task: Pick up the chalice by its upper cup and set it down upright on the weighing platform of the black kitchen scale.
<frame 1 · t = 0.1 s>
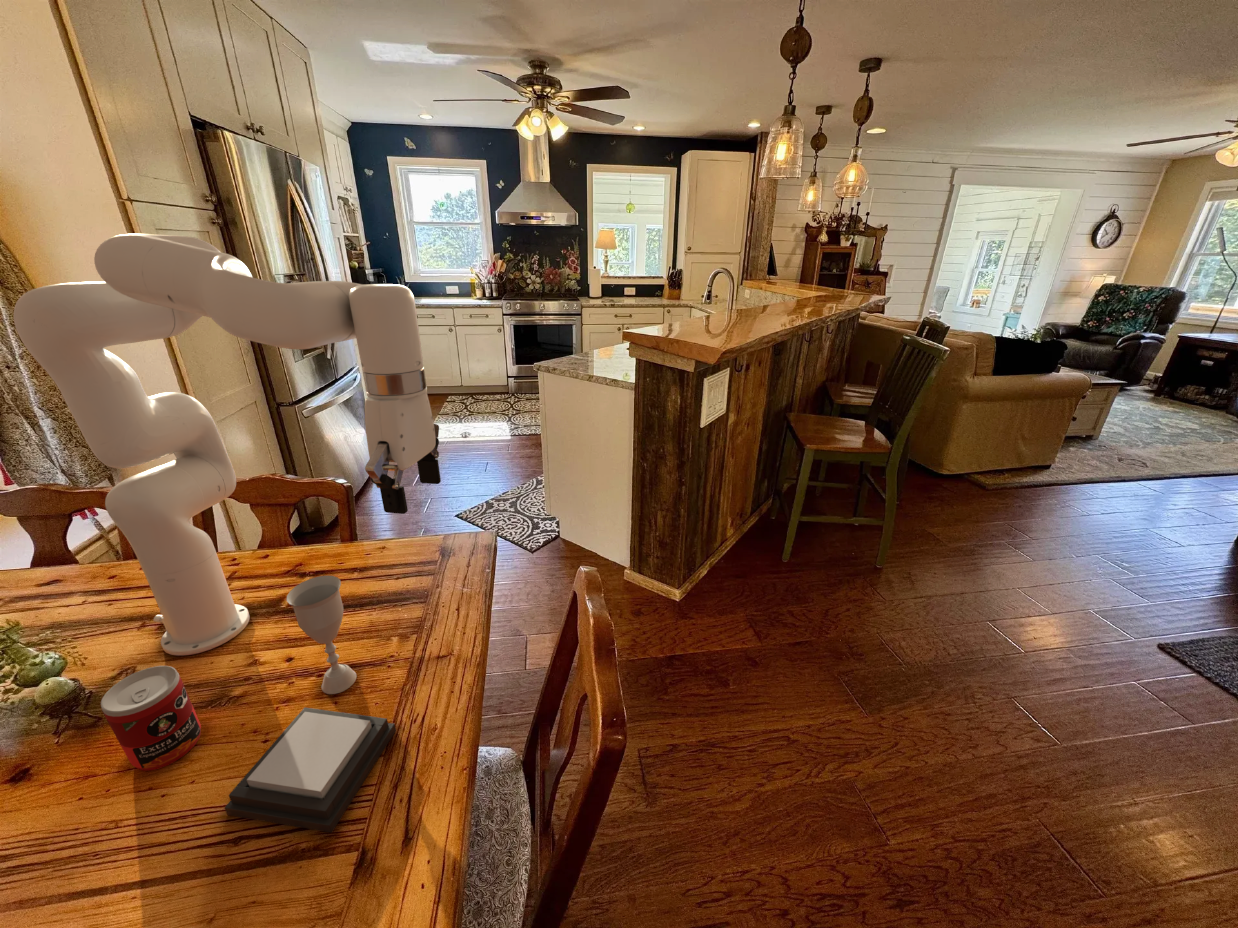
hand: (414, 496, 72), 31 cm above the table, tool pointing down, fingers open, 9 cm apart
canned food: (168, 746, 69), on the table
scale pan: (313, 752, 65), point 3 cm above the table, slide at 0.0 cm
scale: (318, 769, 66), on the table
chalice: (339, 682, 80), on the table
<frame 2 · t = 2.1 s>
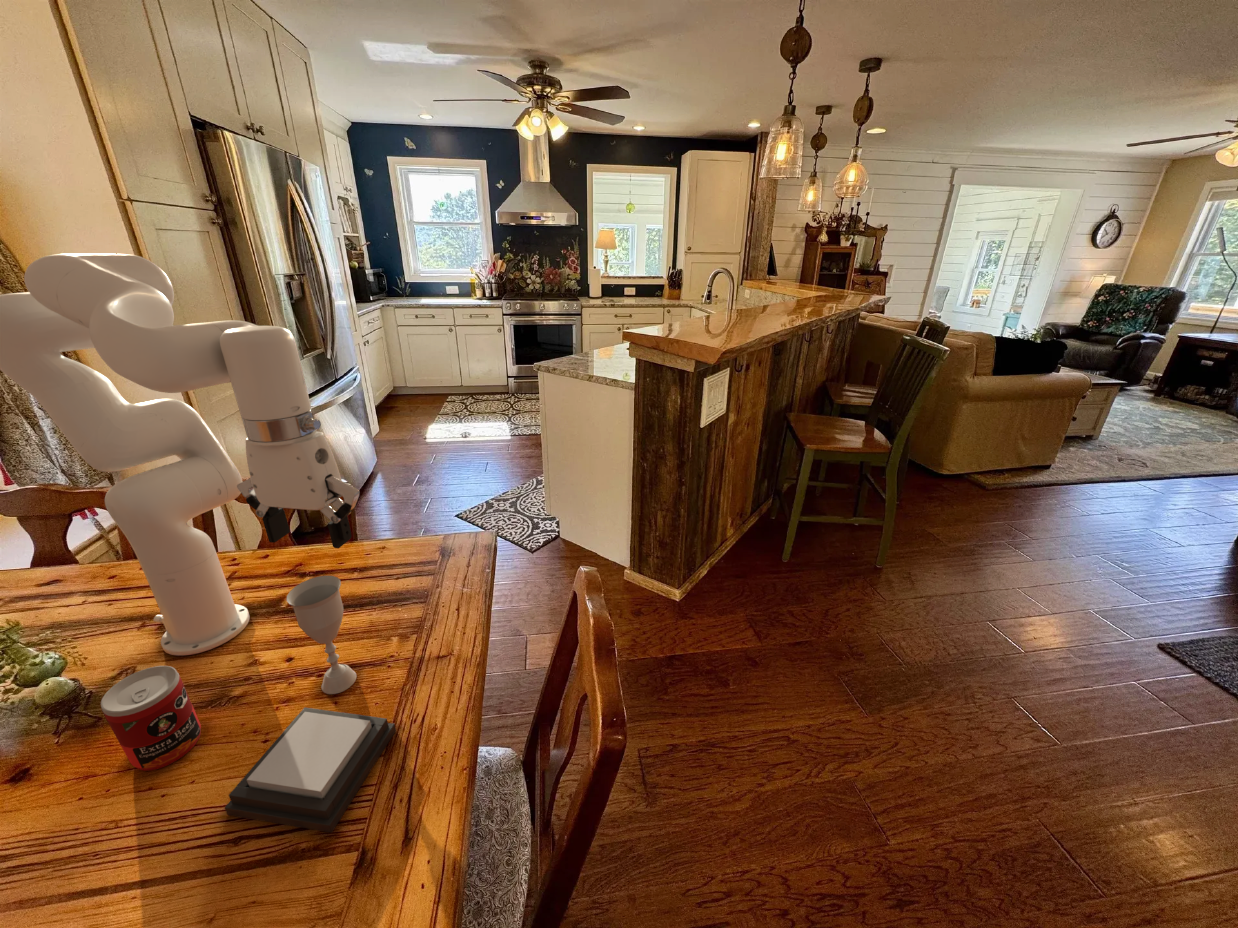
hand: (311, 540, 70), 26 cm above the table, tool pointing down, fingers open, 9 cm apart
nothing on the table moved.
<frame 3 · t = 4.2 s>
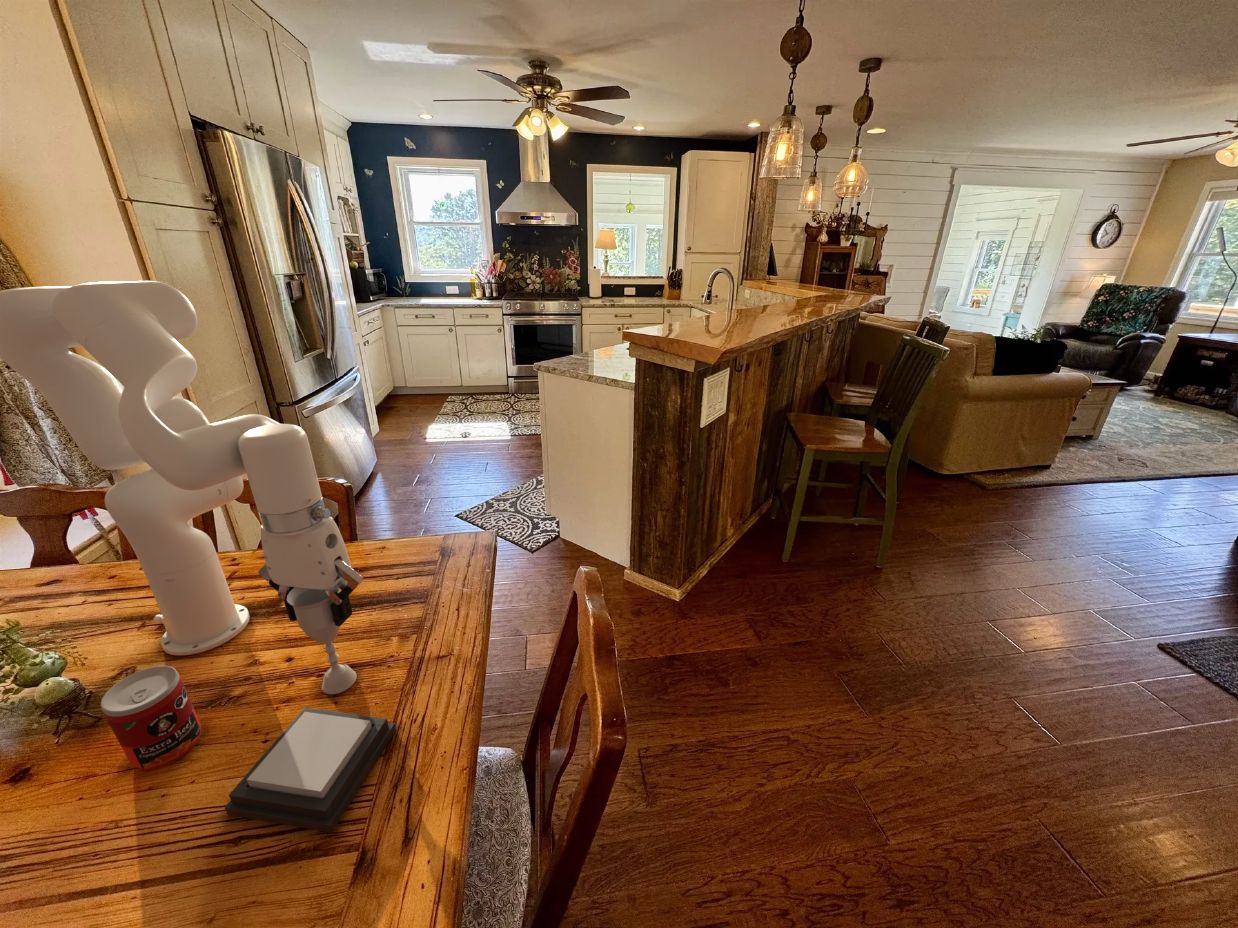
hand: (321, 616, 75), 13 cm above the table, tool pointing down, fingers closed on chalice, 6 cm apart
chalice: (339, 682, 80), on the table, touching gripper
everything else where it was.
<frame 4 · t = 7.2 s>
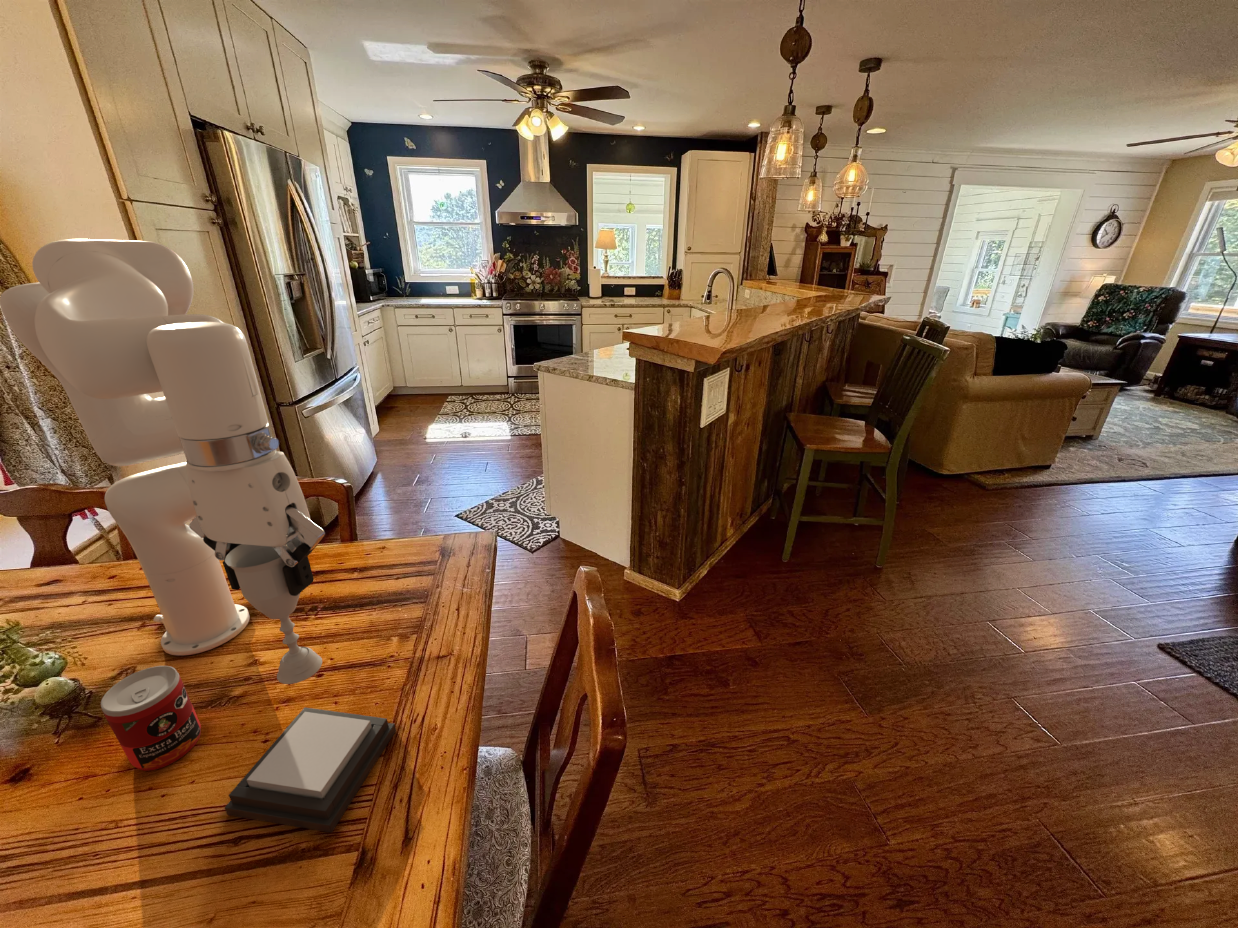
hand: (273, 584, 58), 28 cm above the table, tool pointing down, fingers closed on chalice, 6 cm apart
chalice: (300, 669, 64), point 14 cm above the table, touching gripper
everything else where it was.
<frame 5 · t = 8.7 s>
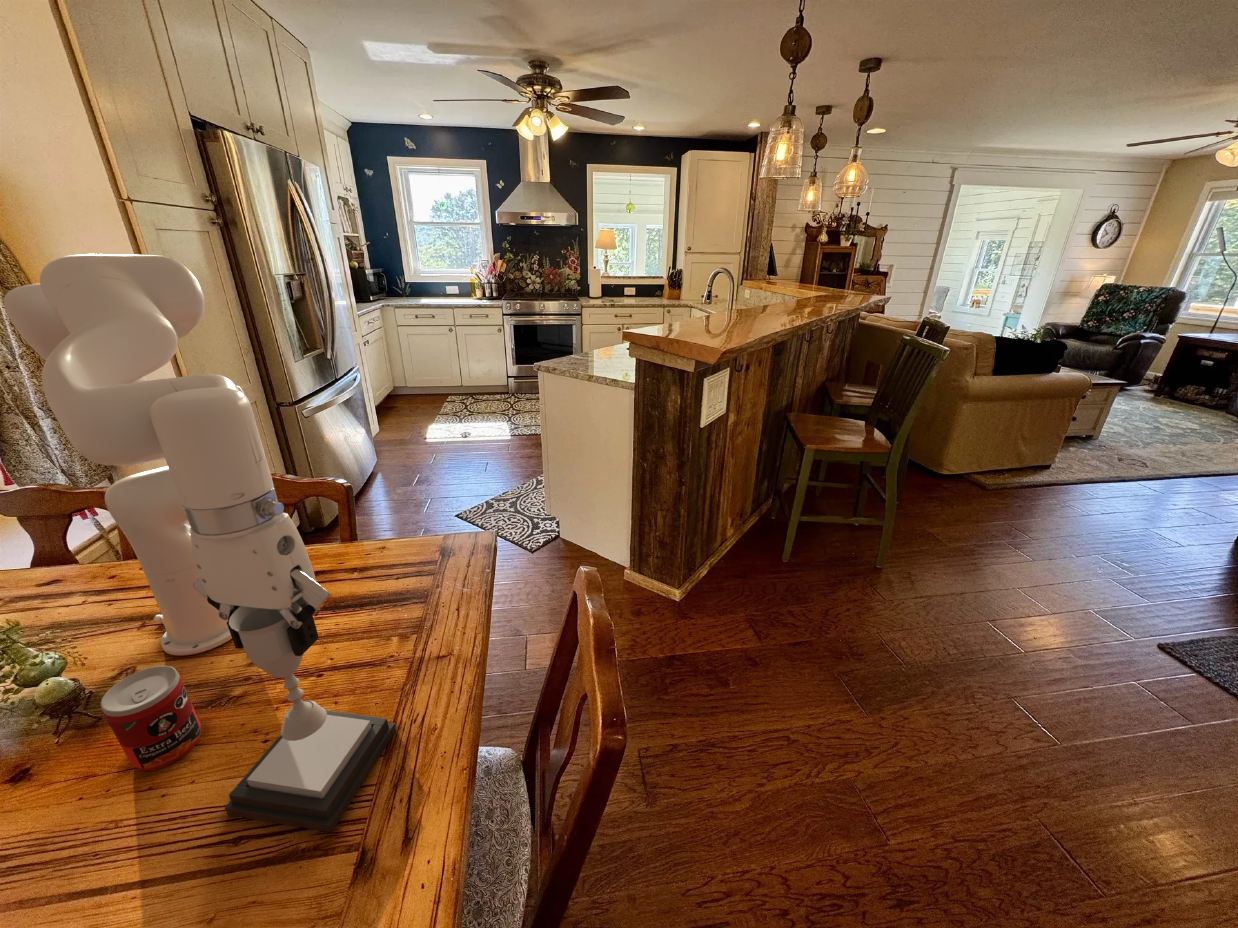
hand: (278, 642, 58), 22 cm above the table, tool pointing down, fingers closed on chalice, 6 cm apart
chalice: (304, 723, 63), point 9 cm above the table, touching gripper
everything else where it was.
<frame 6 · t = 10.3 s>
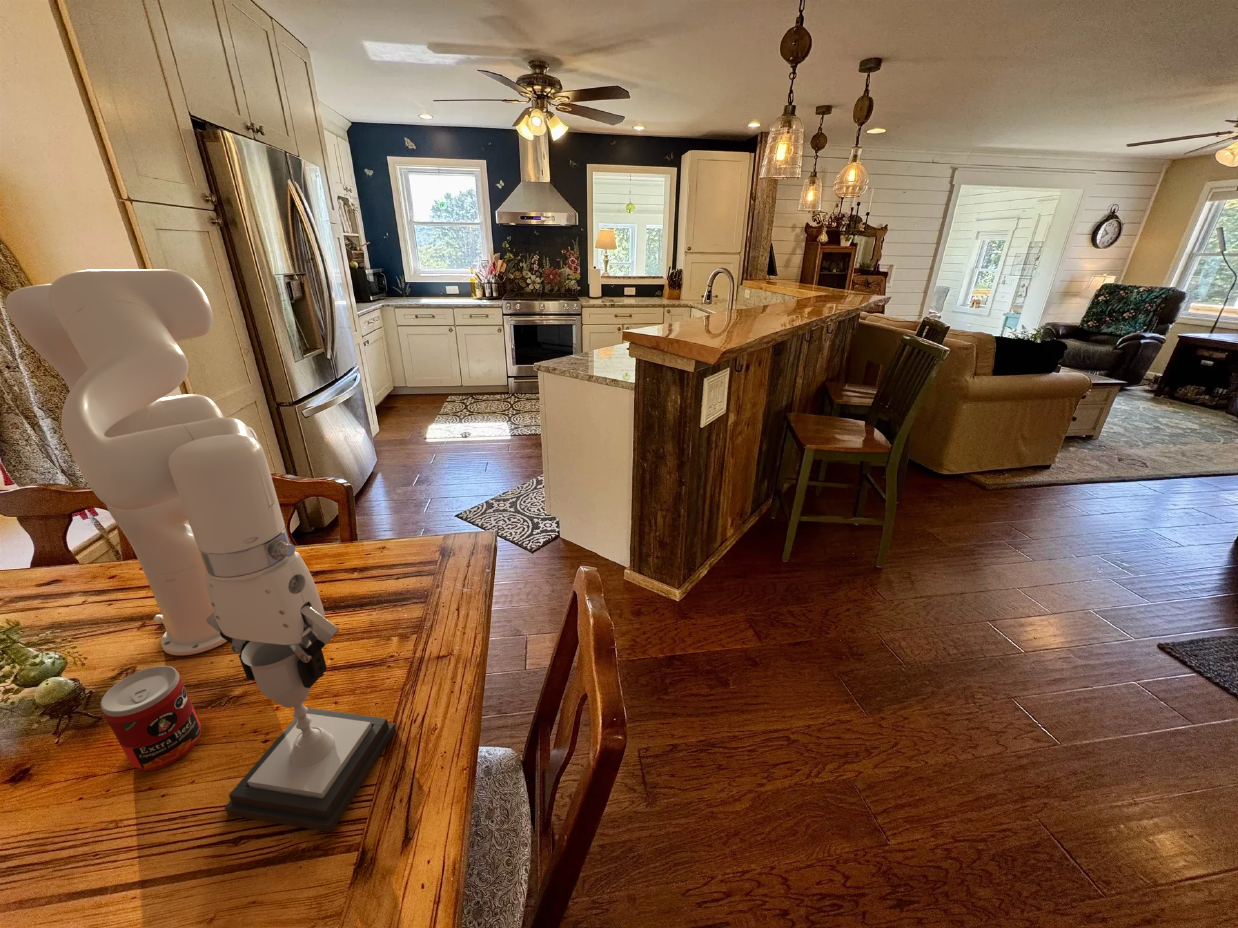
hand: (287, 673, 60), 17 cm above the table, tool pointing down, fingers closed on chalice, 6 cm apart
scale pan: (314, 753, 65), point 3 cm above the table, slide at -0.3 cm, touching chalice
chalice: (312, 750, 65), point 4 cm above the table, touching gripper, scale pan
everything else where it was.
when the fingers open (17 cm above the table, at t = 10.5 s): chalice stays where it is, resting on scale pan.
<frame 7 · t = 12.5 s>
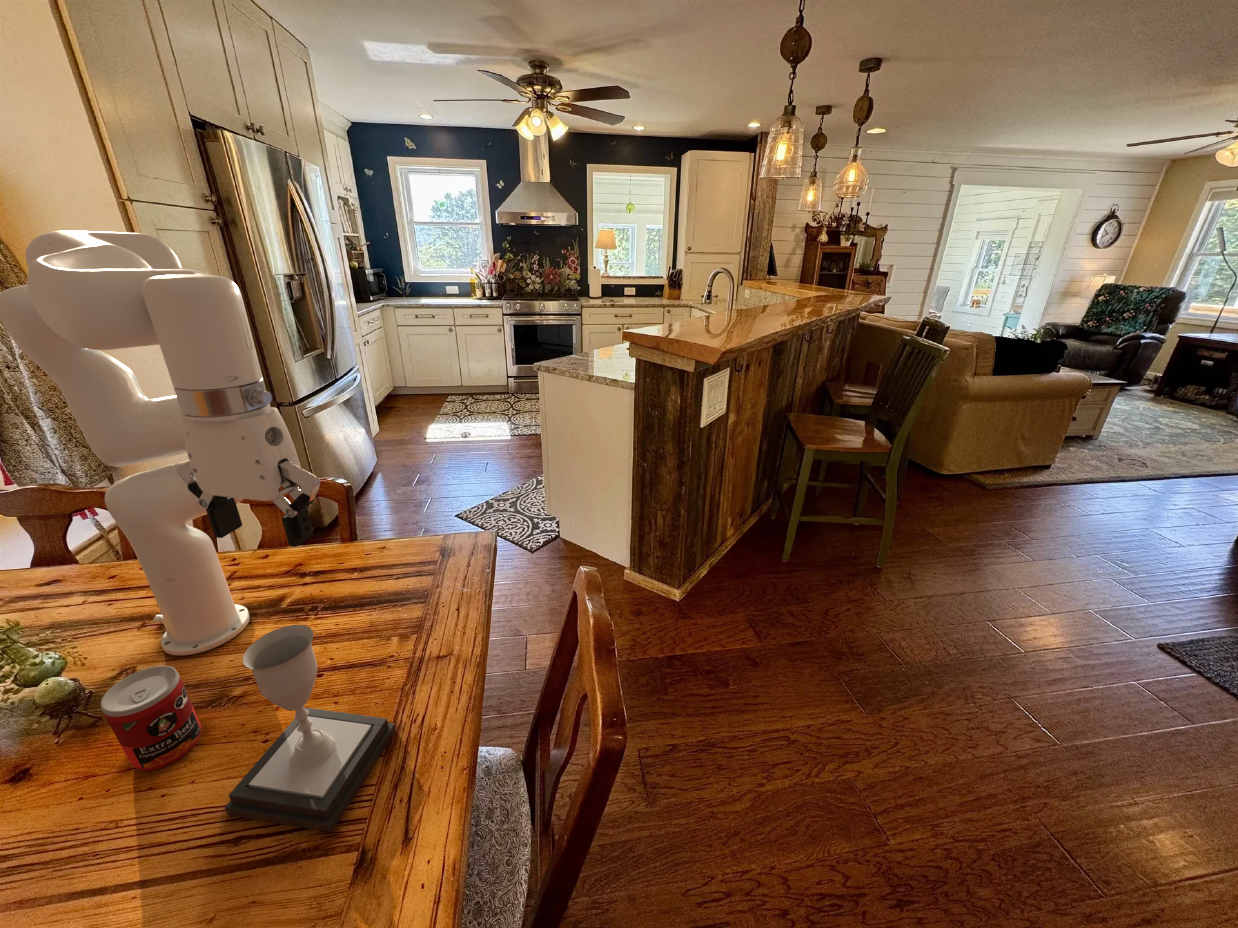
hand: (265, 536, 59), 33 cm above the table, tool pointing down, fingers open, 9 cm apart
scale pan: (314, 756, 65), point 2 cm above the table, slide at -0.9 cm, touching chalice
chalice: (313, 752, 65), point 3 cm above the table, touching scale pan
everything else where it was.
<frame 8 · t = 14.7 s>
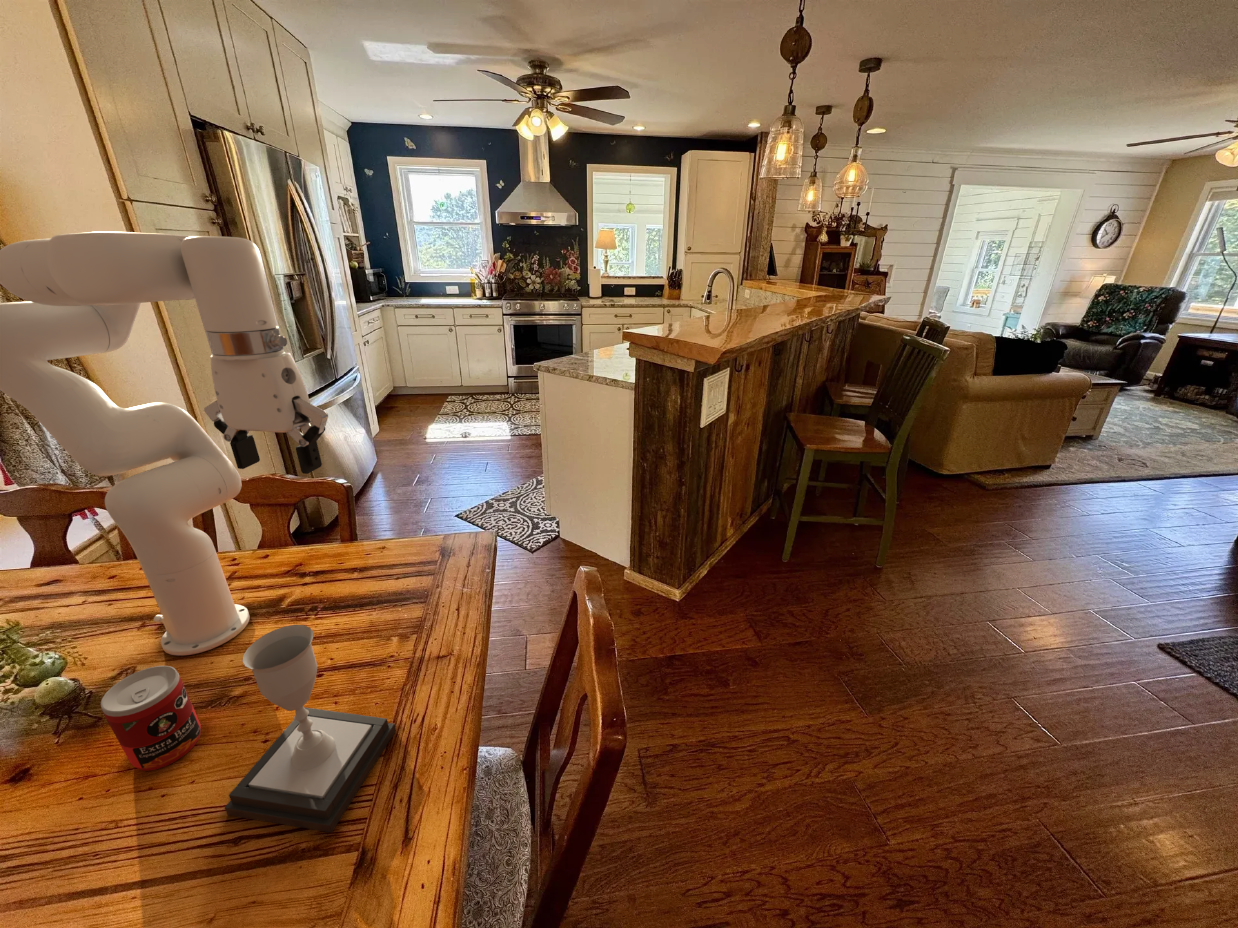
hand: (280, 467, 69), 36 cm above the table, tool pointing down, fingers open, 9 cm apart
nothing on the table moved.
at the end: chalice inside the target area on the scale (0.1 cm from its centre), point 3.0 cm above the scale's base; chalice tilted 0°; the gripper is holding nothing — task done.
